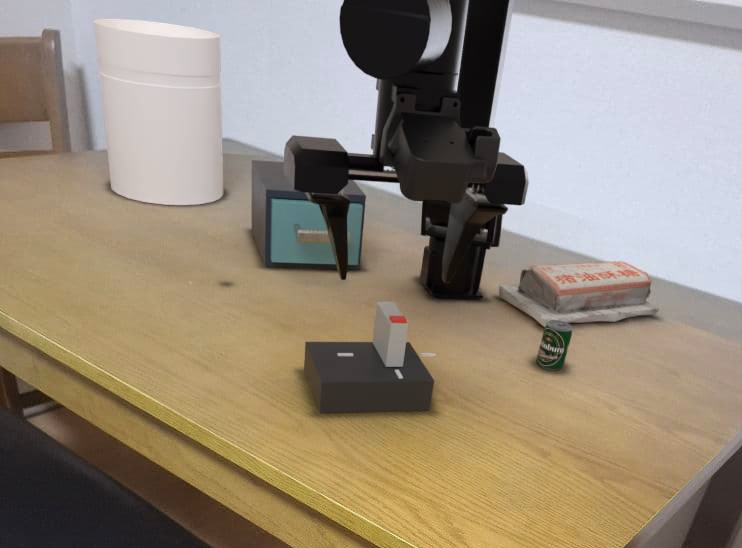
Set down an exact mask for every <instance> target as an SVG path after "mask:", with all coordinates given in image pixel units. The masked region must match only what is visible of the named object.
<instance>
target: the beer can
mask: <svg viewBox="0 0 742 548" xmlns="http://www.w3.org/2000/svg"><path fill="white" fill-rule="evenodd" d="M546 324H547V325H546V326H545V327H544V329H543V333H542V335H541V340H540V345H539V348H538V352H537V357H536V363H537V364H538V366H539V367H541V368H542V369H544V370H547V371H558V370H561V369H562V368H563V367H564V365H565V362H566V358H567V353H568V350H569V347H570V343H571V339H572V335H573V329H574V328H573V326H572V325H571V323H566V322H563V321H559V320H550V321H548V322H547V323H546Z"/></svg>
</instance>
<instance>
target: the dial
mask: <svg viewBox="0 0 742 548" xmlns="http://www.w3.org/2000/svg"><path fill="white" fill-rule="evenodd" d="M374 315H375V316H374V325H373V326H374V328H373V333H374V334H373V336H372V342H373V345H374V346H375V348H376V350H377V352H378V354H379V355H380V357H381V359H382V361H383V362H384V364H385V366H386V367H403V362H404V355H405V347H406V342H407V341H408V340H407V339H408V331H409V323H408V320H407V318H406V316H405V315H403V314H402V312H401V311H400V309H399V308H398V306H397V304H395V302H394V301H376V305H375V314H374Z"/></svg>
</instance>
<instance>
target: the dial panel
mask: <svg viewBox="0 0 742 548" xmlns="http://www.w3.org/2000/svg"><path fill="white" fill-rule="evenodd" d="M373 334H374V332H373ZM304 345H305V346H304V360H303V361H304V362H303V363H304V365H303V372H304V375H305V377H306V381H307V384H308V385H309V388H310V391H311V393H312V396H313V398H314V401H315V404H316V407H317V409H318V412H319V414H344V413H345V414H346V413H347V414H348V413H382V412H383V413H384V412H385V413H386V412H425V411H430V410H431V405H432V400H433V399H432V398H433V392H434V385H435V379H434V378H433V376H432V374H431V373H430V372H429V370H428V368H427V366H426V365H425V364H424V362H423V360H422V359H421V358H420V357H436V356H437V355H436V353H435V352H420V353H419V354H420V356H419V354H418V353H417V351H416V349H415V348H414V347H413V345H412V344H411V342H410V341H406V347H405V355H404V362H403V367H386V366H385V364H384V362H383V361H382V359H381V357H380V355H379V354H378V352H377V350H376V348H375V346H374V345H373V341H305V342H304Z"/></svg>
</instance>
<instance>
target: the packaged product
mask: <svg viewBox="0 0 742 548" xmlns="http://www.w3.org/2000/svg"><path fill="white" fill-rule="evenodd" d="M651 285H652V278H651V277H650V275H649V273H648V272H646V271H643V269H640V268H638V267H636V266H634V265H632V264H631V263H628V262H626V261H621V260H620V261H616V260H615V261H598V262H597V261H592V262H580V263H579V262H578V263H577V262H576V263H560V264H542V265H530V266H526V267H524V268H523V269H522V270H521V272H520V277H519V282H517V283H505V284H504V283H503V284H502V283H501V284H499V285H498V297H499V298H501V299H502V300H503V301H505V302H507V303H509V304H510V305H512V306H514V307H515V308H518V309H519V310H520V311H522V312H524V313H525V314H526V315H529V316H530V317H532V318H533V319H534V320H535V321H536V322H538V323H539V324H540V325H541V326H542V327H543V328H545V326H546V325H547V324H546V323H547V322H548V321H550V320H559V321H563V322H566V323H568V324H577V323H590V322H613V323H615V322H618V321H621V320H623V319H627V318H634V317H635V318H636V317H643V316H655V315H657V314H658V312H659V311H660V308H659V307H657V305H654V304H652V303H650V302H649V301H647V299H648V298H650V295H651V293H652V291H651Z"/></svg>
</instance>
